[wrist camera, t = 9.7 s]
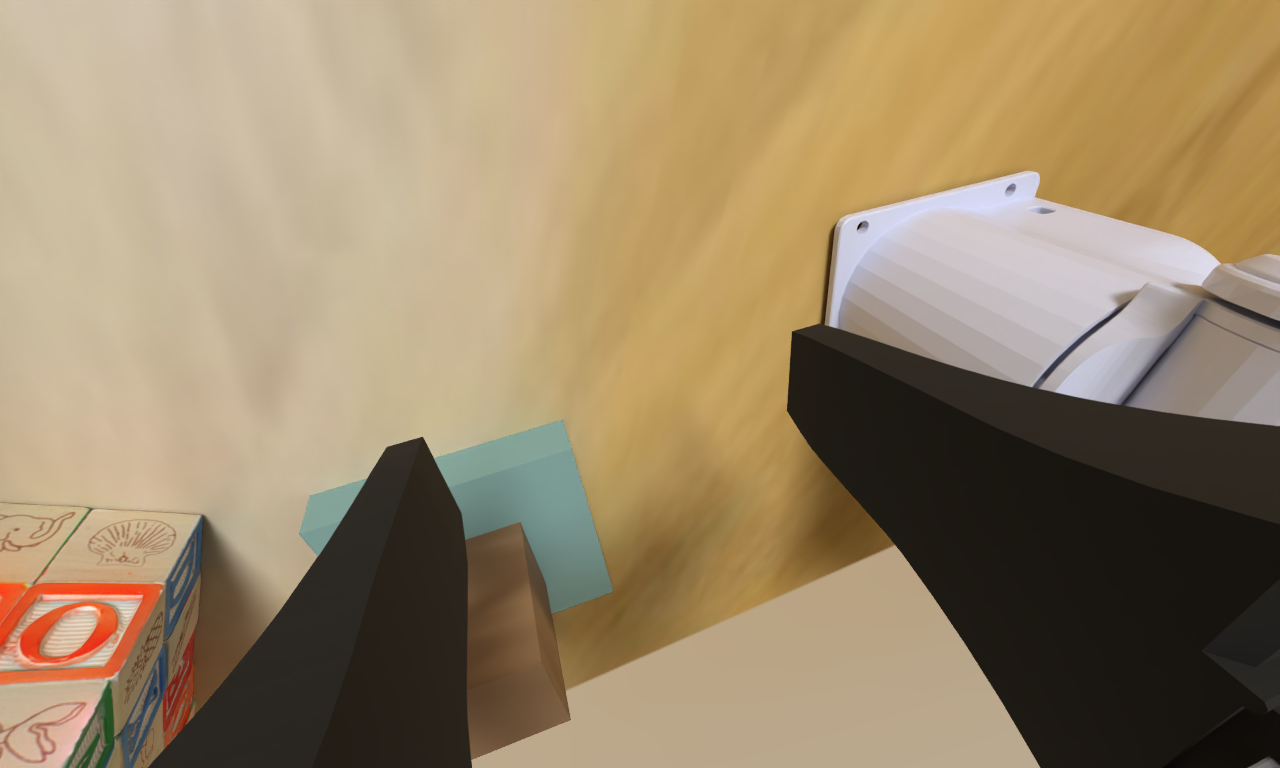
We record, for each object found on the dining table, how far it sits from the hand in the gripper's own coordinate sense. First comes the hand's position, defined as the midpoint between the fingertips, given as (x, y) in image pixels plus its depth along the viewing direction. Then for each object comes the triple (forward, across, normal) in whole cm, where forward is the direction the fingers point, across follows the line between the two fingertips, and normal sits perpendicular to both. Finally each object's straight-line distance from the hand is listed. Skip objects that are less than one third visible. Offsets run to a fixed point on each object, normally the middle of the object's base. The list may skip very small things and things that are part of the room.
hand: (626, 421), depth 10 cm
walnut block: (+8, +6, +12) cm, 16 cm away
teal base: (+10, +6, +12) cm, 17 cm away
